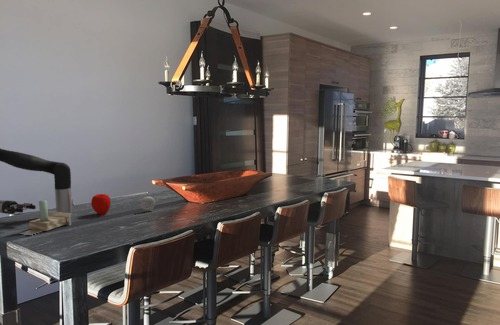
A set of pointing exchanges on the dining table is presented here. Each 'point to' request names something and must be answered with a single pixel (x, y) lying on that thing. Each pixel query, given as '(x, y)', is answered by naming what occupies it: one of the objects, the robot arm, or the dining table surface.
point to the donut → (145, 200)
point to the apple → (101, 203)
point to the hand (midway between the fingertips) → (28, 208)
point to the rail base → (51, 213)
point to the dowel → (43, 210)
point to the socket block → (47, 223)
